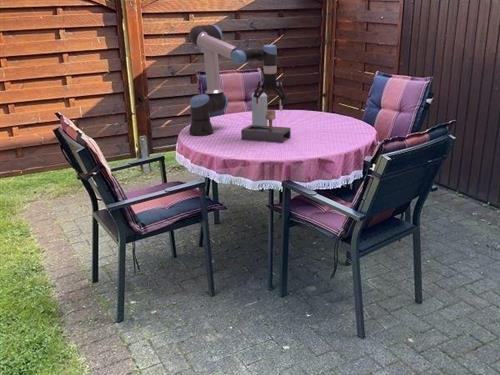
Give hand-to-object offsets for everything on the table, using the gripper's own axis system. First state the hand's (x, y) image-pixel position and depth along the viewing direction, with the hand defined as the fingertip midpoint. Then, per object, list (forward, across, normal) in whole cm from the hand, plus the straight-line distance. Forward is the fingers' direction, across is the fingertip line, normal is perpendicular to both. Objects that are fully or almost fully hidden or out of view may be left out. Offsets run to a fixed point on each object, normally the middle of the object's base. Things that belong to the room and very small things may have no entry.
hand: (270, 110), depth 298 cm
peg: (+17, 0, 0) cm, 17 cm away
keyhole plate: (+17, -2, 0) cm, 18 cm away
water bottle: (+18, -16, +24) cm, 34 cm away
